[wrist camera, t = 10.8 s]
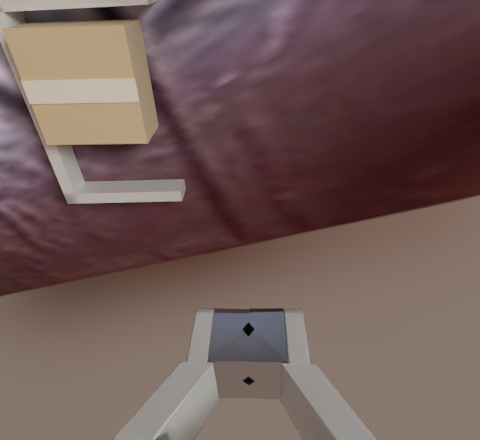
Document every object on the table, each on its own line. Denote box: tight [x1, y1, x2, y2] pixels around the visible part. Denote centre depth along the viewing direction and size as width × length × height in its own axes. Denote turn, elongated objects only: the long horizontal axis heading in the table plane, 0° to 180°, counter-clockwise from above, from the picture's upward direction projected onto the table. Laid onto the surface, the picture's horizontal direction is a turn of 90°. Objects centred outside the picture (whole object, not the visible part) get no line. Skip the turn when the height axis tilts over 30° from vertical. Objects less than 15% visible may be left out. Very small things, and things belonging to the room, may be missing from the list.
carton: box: [2, 19, 158, 145], centre depth 29 cm, size 9×9×5 cm
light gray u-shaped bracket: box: [0, 0, 186, 204], centre depth 31 cm, size 12×18×2 cm, turn 2°
